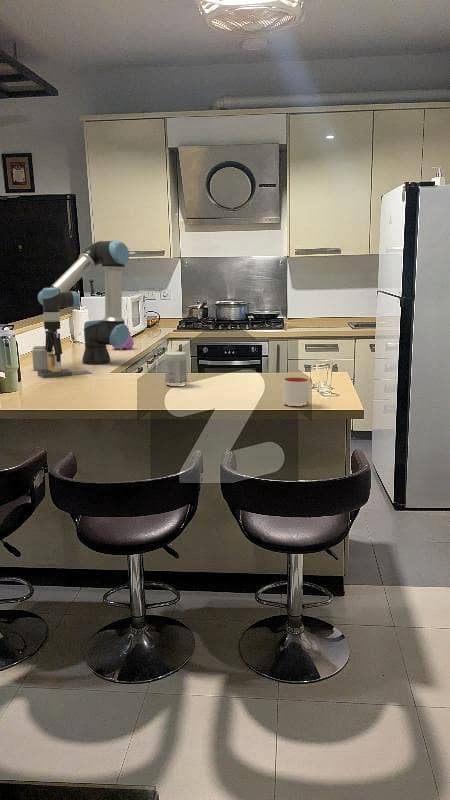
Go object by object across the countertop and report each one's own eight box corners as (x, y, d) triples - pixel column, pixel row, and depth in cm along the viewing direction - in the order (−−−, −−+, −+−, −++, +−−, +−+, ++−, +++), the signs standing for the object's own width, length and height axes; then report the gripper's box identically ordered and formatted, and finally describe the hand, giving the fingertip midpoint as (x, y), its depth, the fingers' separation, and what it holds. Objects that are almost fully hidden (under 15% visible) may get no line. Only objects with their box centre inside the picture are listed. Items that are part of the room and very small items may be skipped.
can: (44, 371, 311) (42, 347, 308) (30, 370, 313) (29, 347, 310) (51, 368, 318) (49, 345, 316) (37, 368, 320) (36, 345, 317)
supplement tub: (183, 382, 283) (183, 351, 280) (189, 386, 274) (189, 353, 271) (162, 384, 280) (162, 351, 277) (168, 388, 271) (167, 354, 268)
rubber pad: (86, 370, 312) (86, 370, 312) (92, 373, 306) (92, 372, 306) (70, 372, 308) (70, 371, 308) (76, 374, 301) (76, 374, 301)
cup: (280, 402, 245) (281, 377, 242) (305, 401, 245) (306, 377, 243) (285, 408, 235) (285, 382, 233) (310, 407, 236) (311, 382, 234)
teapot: (141, 350, 388) (140, 330, 385) (120, 352, 379) (120, 332, 377) (125, 346, 403) (125, 328, 401) (106, 348, 395) (105, 329, 392)
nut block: (58, 374, 303) (57, 354, 301) (62, 375, 299) (60, 355, 297) (47, 375, 300) (46, 354, 298) (51, 376, 296) (50, 356, 294)
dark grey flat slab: (65, 372, 307) (65, 368, 306) (72, 375, 300) (71, 371, 299) (37, 375, 299) (37, 371, 299) (43, 378, 292) (43, 373, 292)
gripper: (36, 319, 301) (39, 364, 306) (52, 323, 283) (54, 370, 287) (51, 318, 305) (54, 363, 310) (67, 322, 287) (70, 369, 291)
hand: (54, 366), depth 299 cm, fingers open, 10 cm apart
